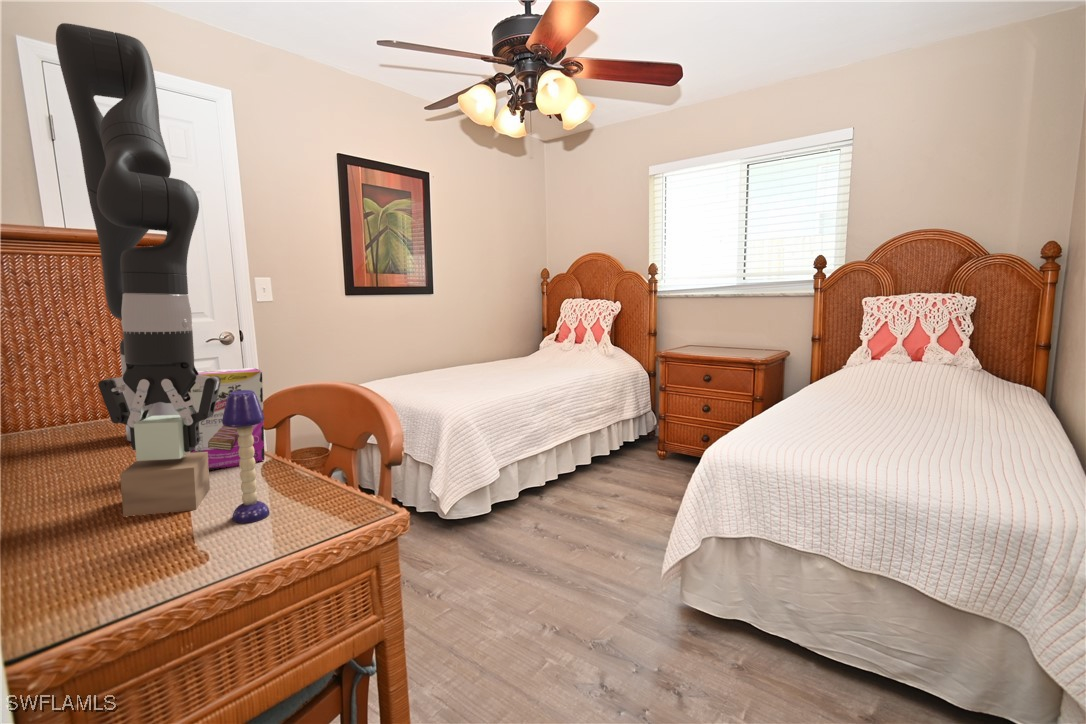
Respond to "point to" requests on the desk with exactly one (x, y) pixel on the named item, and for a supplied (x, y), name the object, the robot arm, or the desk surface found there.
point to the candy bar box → (211, 430)
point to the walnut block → (165, 485)
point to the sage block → (159, 438)
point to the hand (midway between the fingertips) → (166, 450)
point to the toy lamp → (246, 451)
